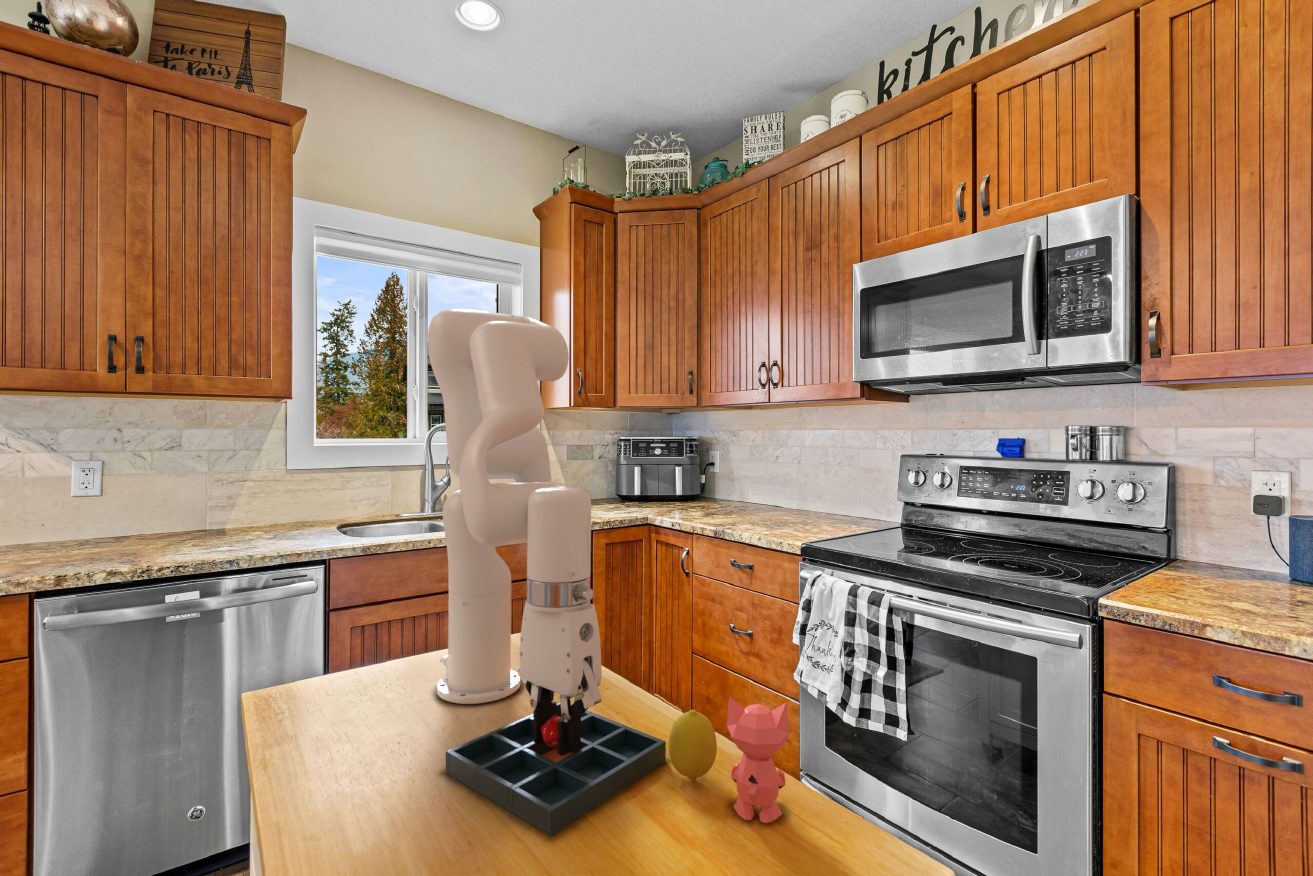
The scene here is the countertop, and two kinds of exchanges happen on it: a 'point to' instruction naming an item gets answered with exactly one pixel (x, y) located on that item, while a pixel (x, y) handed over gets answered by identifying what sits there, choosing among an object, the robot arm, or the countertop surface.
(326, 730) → the countertop surface
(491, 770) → the grid
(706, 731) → the lemon
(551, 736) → the die
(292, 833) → the countertop surface
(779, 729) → the cat figurine
